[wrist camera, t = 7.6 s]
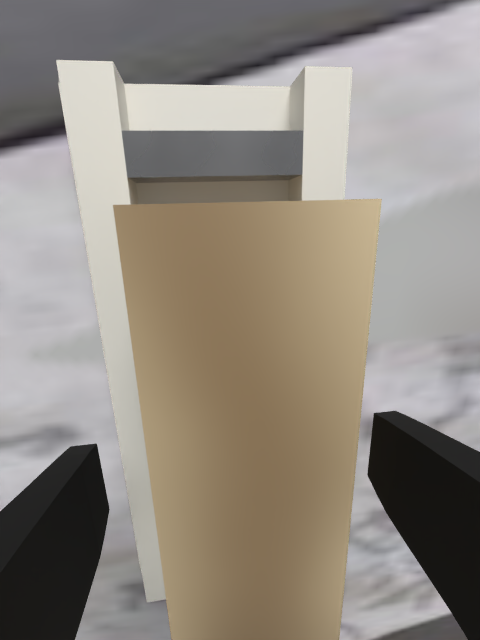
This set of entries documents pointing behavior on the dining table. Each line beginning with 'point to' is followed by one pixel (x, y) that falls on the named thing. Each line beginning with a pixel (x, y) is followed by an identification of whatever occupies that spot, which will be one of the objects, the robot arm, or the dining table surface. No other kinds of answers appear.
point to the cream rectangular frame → (186, 196)
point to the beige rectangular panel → (251, 403)
